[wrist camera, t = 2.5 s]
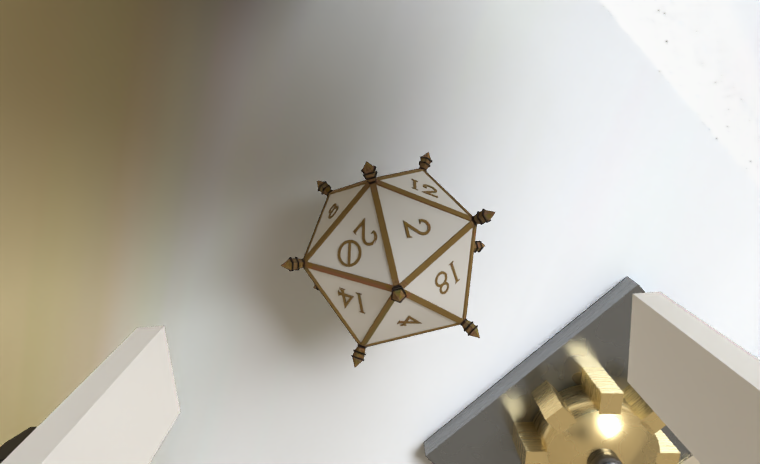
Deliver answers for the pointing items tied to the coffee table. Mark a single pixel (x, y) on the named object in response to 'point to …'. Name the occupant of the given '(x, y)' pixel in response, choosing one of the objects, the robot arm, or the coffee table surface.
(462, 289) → the game die
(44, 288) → the coffee table surface
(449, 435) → the carrier plate
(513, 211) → the coffee table surface
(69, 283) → the coffee table surface
